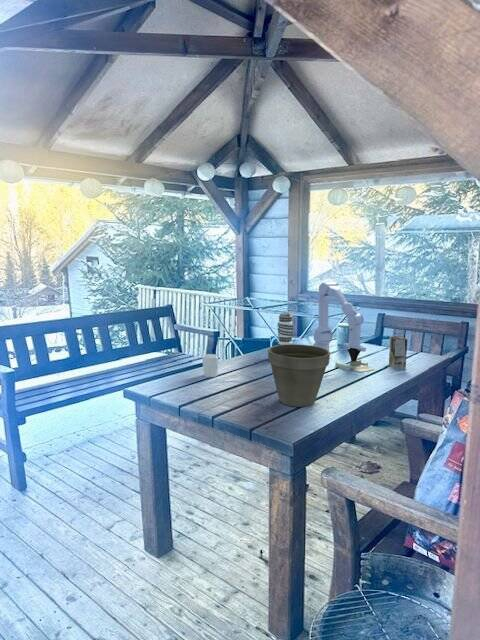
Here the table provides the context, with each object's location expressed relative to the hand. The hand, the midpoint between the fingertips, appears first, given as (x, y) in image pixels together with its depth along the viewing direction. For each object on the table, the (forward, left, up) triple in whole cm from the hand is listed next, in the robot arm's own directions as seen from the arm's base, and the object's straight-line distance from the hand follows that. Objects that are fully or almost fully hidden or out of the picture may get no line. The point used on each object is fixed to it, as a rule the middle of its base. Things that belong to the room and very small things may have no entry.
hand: (353, 362), depth 240 cm
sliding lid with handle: (+5, 0, -3) cm, 6 cm away
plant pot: (+27, -58, -3) cm, 64 cm away
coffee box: (+12, +20, -3) cm, 23 cm away
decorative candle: (-41, -14, -3) cm, 44 cm away
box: (-1, 0, -3) cm, 3 cm away
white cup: (-26, -71, -3) cm, 76 cm away
